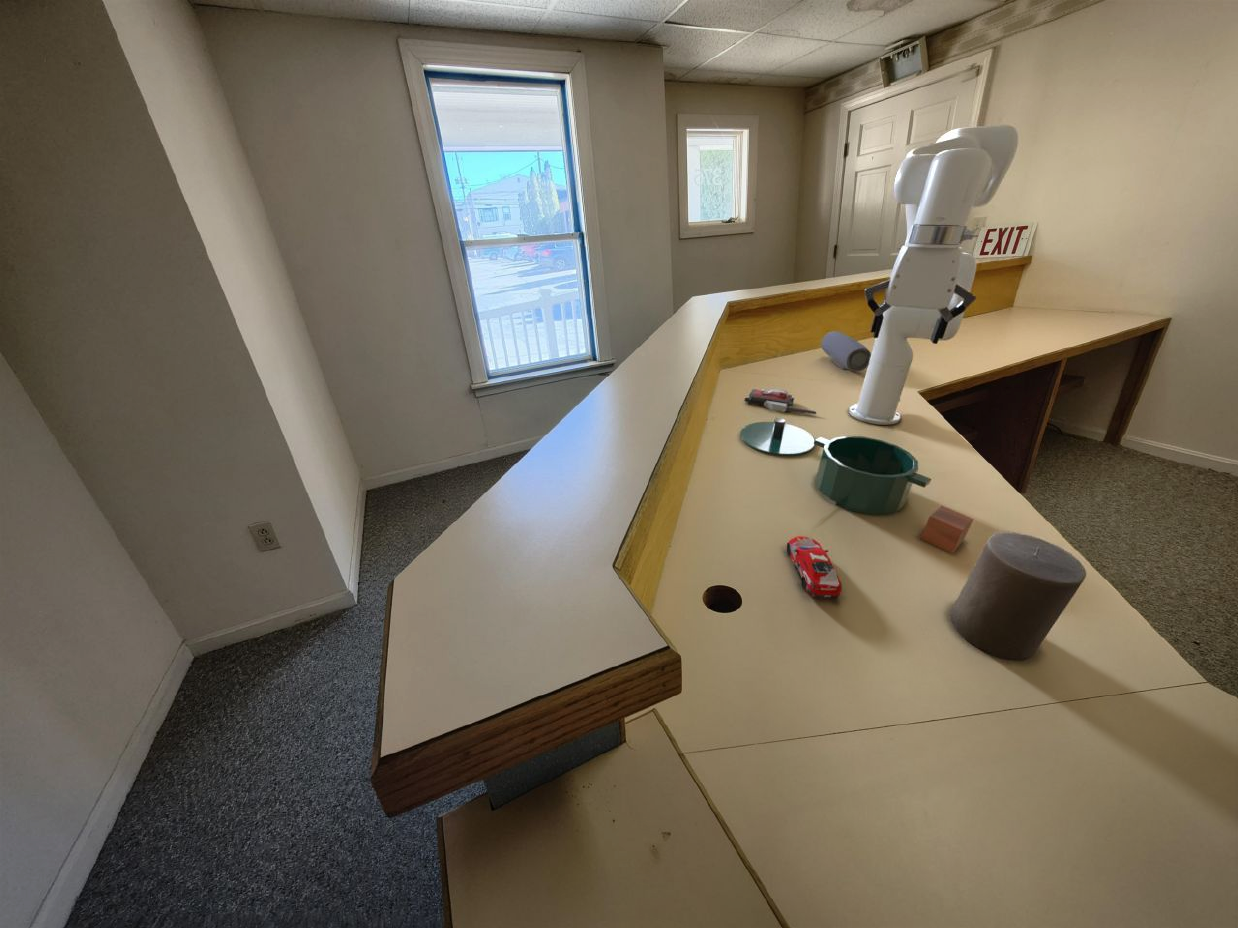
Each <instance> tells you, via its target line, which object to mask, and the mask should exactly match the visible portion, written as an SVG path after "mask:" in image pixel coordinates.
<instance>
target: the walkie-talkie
mask: <svg viewBox="0 0 1238 928" xmlns="http://www.w3.org/2000/svg"><path fill="white" fill-rule="evenodd" d="M794 400H795V397H793V395H792V394H789V392H788V391H787V390H782V389H775V388H772V389H770V390H765V388H762V389H756V388H752V389H751V391H750V392H749V394H748V397H745V398H744V399H743V401H744V402H746V403H748V404H751V405H756V406H763V407H765V408H766V409H769V410H771V411H776V412H782V413H786V412H794V413H800V414H806V413H807V414H812V415H816V414H817V412H816V410H810V409H804V408H798V407H792V406H793V404H794V402H795V401H794Z"/></svg>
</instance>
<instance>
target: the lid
mask: <svg viewBox="0 0 1238 928" xmlns="http://www.w3.org/2000/svg"><path fill="white" fill-rule="evenodd" d="M739 438H740V440H741V442H742V443H744V444H745V445H746V446H748V448H751V449H752V450H755V451H757V452H759V453H764V454H766V455H767V454H768V455H771V456H777V457H778V456H781V457H795V456H801V455H805V454H808V453H809V452H811V451H812V450H813V449H814V448H815V446H816V445H815V444H814V440H815V438H814V437H813V436H812V434H811V433H810V432H808V431H807V430H805V429H803V428H801V427H799V426H795V425H793V424H789V423H786V419H785V418H782V417H776V418H774V420H773V421H758V422H752V423H749V424H747V425H745V426H743V428H741V430H740V433H739Z"/></svg>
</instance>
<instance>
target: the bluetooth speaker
mask: <svg viewBox="0 0 1238 928" xmlns="http://www.w3.org/2000/svg"><path fill="white" fill-rule="evenodd" d="M820 347H821V349H822V350H823V352H824V353H825V354H826V355H827V356H828V357H829V358H831V360H832V363H834V364H835V365H836V366H837V367H839V368H841V369H843V370H848V371H851V372H854V373H855V372H861V371H864V370H865V369H866V368H868V365H869V361H870V357H871V354H872V352H871V351H870V349H868V348H867V347H866V346H864V345H863V343H861V342H859V341H858V340H856V339H855V338H853V337H851V336H849V335H847V334H845V333H843V332H840V331H838V330H837V331H836V330H832V331H829V332H827V333H826V334H825V335H824V336H823V337H822V339H821V342H820Z"/></svg>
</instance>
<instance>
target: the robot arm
mask: <svg viewBox="0 0 1238 928" xmlns="http://www.w3.org/2000/svg"><path fill="white" fill-rule="evenodd" d="M1018 144H1019V133H1018V131H1017V129H1016V128H1015V127H1014V126H1013V125H1010V124H1009V125H1008V124H1002V125H986V126H985V125H984V126H970V127H968V126H967V127H959V128H955V129H952V130H950V131H947V132H946V133H945V134H943V135H942V136H941V137H940V138H938V140H937V141H936V142H935V143H931V144H927V145H924V146H919V147H916V148H913V149H912V150H910V151H909V152H908V153H907V154H906V155H905V157H904V159H903V160H902V162H901V164H900V166H899V168H898V171H897V173H896V176H895V178H894V179H895V180H894V183H893V197H894V200H895V201H896V202H897V203H898V204H901V205H905V219H906V220H905V221H906V238H905V242H904V245H902V246H901V248H900V250H899V252H898V254H897V257H896V259H895V262H894V265H893V267H892V270H891V273H890V277H889V279H886V280H885V281H882V282H879V283H876V284H874V285H872V286H869V287H866V288H865V289H864V297H865V300H866V304H867V306H868V307H869V308H870V310H871V312H872V313H873V314H874V317H873V321H872V323H871V328H870V333H873V334H872V337H873V339H874V342H873V347H872V350H871V357H870V361H869V365H868V366H867V367H866V368H867V369H866V373H865V376H864V379H863V383H862V386H861V390H860V393H859V397H858V401H857V403H855V404H853V405H851V406H850V407H849V411H848V412H849V414H850V415H851V417H853V418H854V419H857V420H858V421H861V422H864V423H867V424H872V425H880V426H890V425H895V424H897V423H900V420H901V418H902V416H901V414H900V413H899V411H897V409H898V405H899V403H900V402H901V397H902V394H903V390H904V387H905V385H906V382H907V378H908V375H909V372H910V370H911V366H912V364H913V361H914V360H913V359H914V351H913V348H912V346H911V344H910V343H909V341H908V339H921V340H928V341H930V342H931V343H932V344H933V345H937V344H938V343H939V341H941V342H942V341H943V342H944V341H949V340H951V339H953V338H954V337H955V336H956V335H957V334H958V331H959V329H960V326H961V324H962V321H963V319H964V316H965V315H964V314H965V312H966V310H967V308H969V307H970V306H971V305H972V304H973V303H974V302H975V301H976V300H977V295H975V294H973V293H972V292H971V290H972V287H973V284H974V280H975V276H976V272H977V259H976V257H975V255H973V254H971V253H969V252H964V247H960V245H961V244H962V243H963V242H964V241H967V240H968V241H970V240H973V238H974V235H975V230H970V229H968V226H967V224H968V221H969V219H970V217H971V216H970V215H971V213H972V209H974V208H976V209H977V208H981V207H984V206H986V205H987V204H989V203H990V202H991V201H992V200H993V198H994V197H995V195H996V194H997V191H998V189H999V188H1000V186H1001V184H1002V182H1003V180H1004V178H1005V176H1006V174H1007V172H1008V171H1009V169H1010V167H1011V165H1012V163H1013V161H1014V159H1015V156H1016V153H1017V149H1018V146H1019V145H1018ZM881 291H885V292H884V298H883V299H884V300H883V302H881V303H880V304H878V303H877V302H876V300H875V297H874V295H875V294H876V293H879V292H881Z"/></svg>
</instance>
